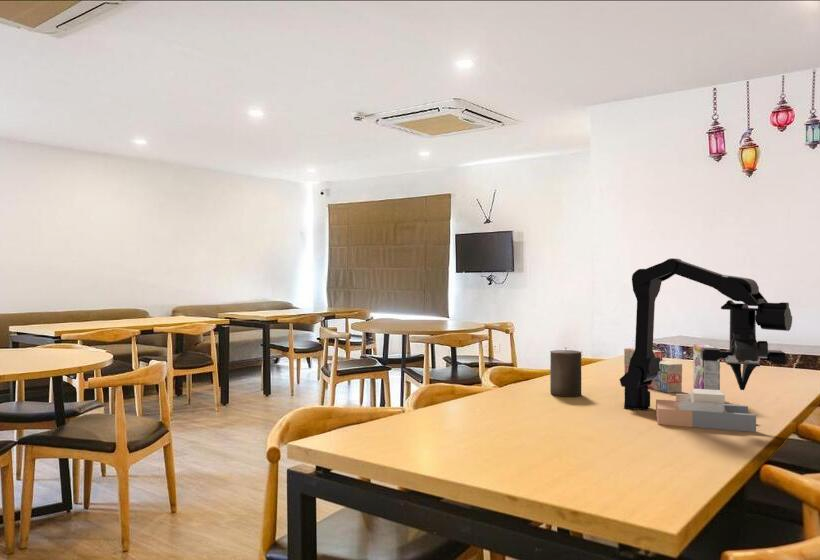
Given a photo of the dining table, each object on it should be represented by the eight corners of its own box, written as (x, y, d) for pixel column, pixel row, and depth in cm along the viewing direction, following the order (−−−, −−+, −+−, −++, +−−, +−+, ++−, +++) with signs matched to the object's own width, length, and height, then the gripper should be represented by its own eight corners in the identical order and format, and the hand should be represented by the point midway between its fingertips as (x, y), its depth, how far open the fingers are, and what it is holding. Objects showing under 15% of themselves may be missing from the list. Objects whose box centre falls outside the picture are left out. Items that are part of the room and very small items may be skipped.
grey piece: (657, 424, 152) (657, 408, 152) (655, 414, 164) (655, 399, 164) (756, 432, 145) (756, 415, 145) (747, 420, 156) (747, 405, 156)
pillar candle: (582, 397, 186) (583, 349, 186) (550, 396, 187) (550, 348, 188) (579, 392, 195) (580, 346, 195) (549, 390, 197) (549, 345, 197)
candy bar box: (692, 396, 188) (692, 344, 188) (709, 397, 187) (709, 344, 187) (702, 403, 177) (702, 348, 177) (720, 404, 176) (720, 348, 176)
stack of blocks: (682, 392, 195) (682, 354, 195) (666, 393, 193) (667, 355, 193) (638, 381, 216) (638, 347, 216) (623, 382, 214) (623, 347, 214)
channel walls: (679, 409, 151) (679, 401, 151) (675, 400, 162) (676, 393, 162) (723, 412, 147) (723, 404, 147) (717, 403, 158) (717, 396, 158)
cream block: (693, 409, 152) (693, 393, 152) (691, 403, 158) (691, 388, 158) (724, 411, 149) (724, 395, 149) (720, 405, 156) (720, 390, 156)
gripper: (705, 329, 147) (704, 393, 147) (793, 332, 140) (793, 398, 140) (700, 325, 157) (699, 385, 157) (782, 328, 151) (781, 390, 151)
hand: (742, 389), depth 151 cm, fingers closed
